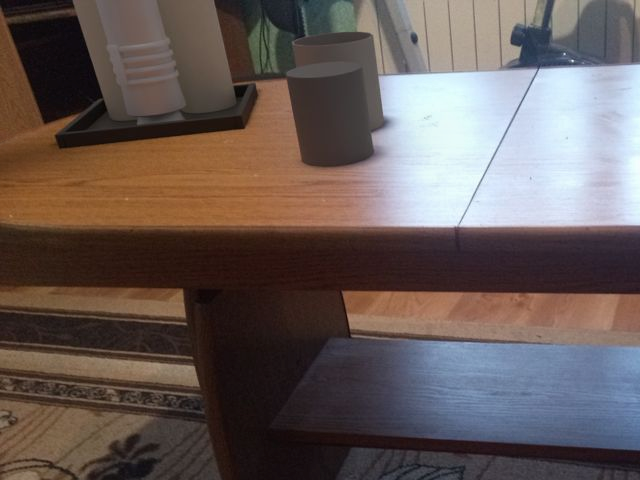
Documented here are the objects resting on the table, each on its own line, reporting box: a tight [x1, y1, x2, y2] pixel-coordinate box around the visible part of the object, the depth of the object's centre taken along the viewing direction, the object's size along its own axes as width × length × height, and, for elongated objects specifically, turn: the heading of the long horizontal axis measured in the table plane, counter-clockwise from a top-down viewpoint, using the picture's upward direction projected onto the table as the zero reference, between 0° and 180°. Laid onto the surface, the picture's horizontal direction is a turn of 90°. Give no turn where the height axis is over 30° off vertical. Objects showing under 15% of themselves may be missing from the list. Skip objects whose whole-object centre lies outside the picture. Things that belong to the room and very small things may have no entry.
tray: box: [54, 82, 259, 149], centre depth 91 cm, size 21×19×2 cm
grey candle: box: [285, 62, 375, 168], centre depth 70 cm, size 7×7×9 cm
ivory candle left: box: [72, 0, 138, 121], centre depth 91 cm, size 7×7×15 cm
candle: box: [95, 0, 186, 125], centre depth 84 cm, size 7×7×15 cm
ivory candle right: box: [156, 0, 237, 113], centre depth 92 cm, size 7×7×15 cm
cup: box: [291, 31, 385, 132], centre depth 79 cm, size 8×8×10 cm
